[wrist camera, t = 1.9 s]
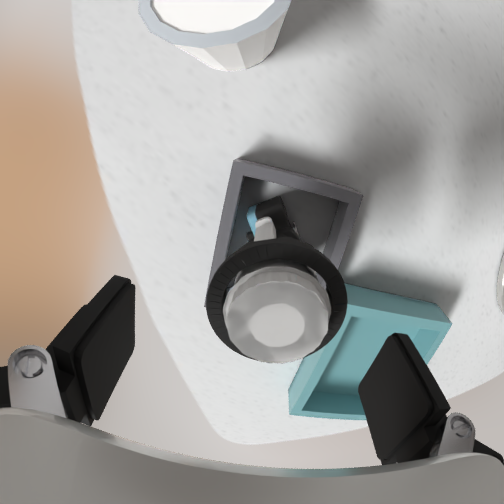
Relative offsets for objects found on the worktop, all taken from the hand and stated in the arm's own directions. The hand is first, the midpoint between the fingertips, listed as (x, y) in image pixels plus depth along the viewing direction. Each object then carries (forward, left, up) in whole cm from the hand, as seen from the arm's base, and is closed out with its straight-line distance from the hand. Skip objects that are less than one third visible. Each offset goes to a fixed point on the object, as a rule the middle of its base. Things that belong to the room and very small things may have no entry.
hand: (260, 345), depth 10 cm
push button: (-1, 0, -11) cm, 11 cm away
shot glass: (+5, -13, -11) cm, 18 cm away
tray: (-10, +7, -10) cm, 16 cm away
